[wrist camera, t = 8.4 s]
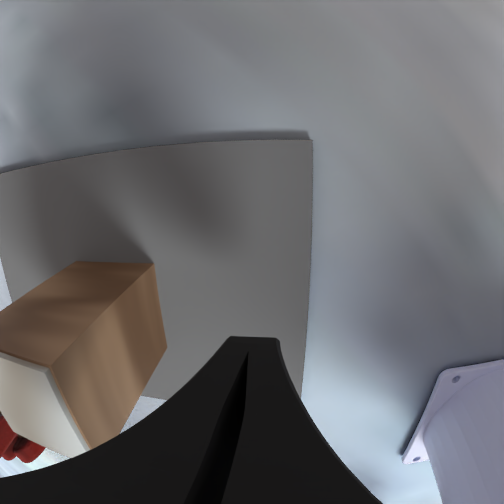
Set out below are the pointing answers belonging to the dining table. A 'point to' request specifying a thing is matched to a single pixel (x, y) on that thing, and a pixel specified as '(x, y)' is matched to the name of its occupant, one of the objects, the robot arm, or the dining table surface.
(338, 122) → the dining table surface
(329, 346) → the dining table surface
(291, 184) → the rubber mat
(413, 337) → the dining table surface
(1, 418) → the toy fire truck
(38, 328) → the walnut block
